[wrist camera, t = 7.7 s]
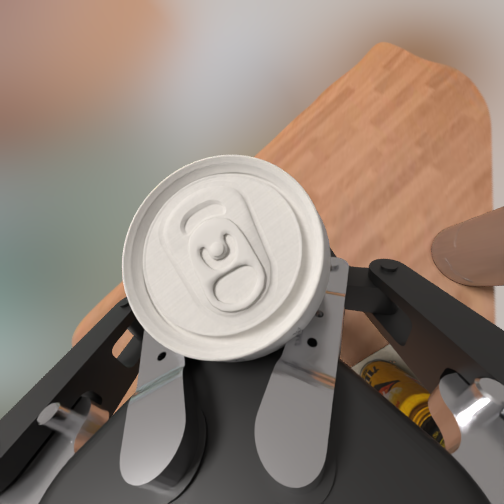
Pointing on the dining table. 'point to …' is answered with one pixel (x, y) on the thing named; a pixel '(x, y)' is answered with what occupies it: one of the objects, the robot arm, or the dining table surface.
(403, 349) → the robot arm
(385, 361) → the condiment
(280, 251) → the beer can
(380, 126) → the dining table surface
